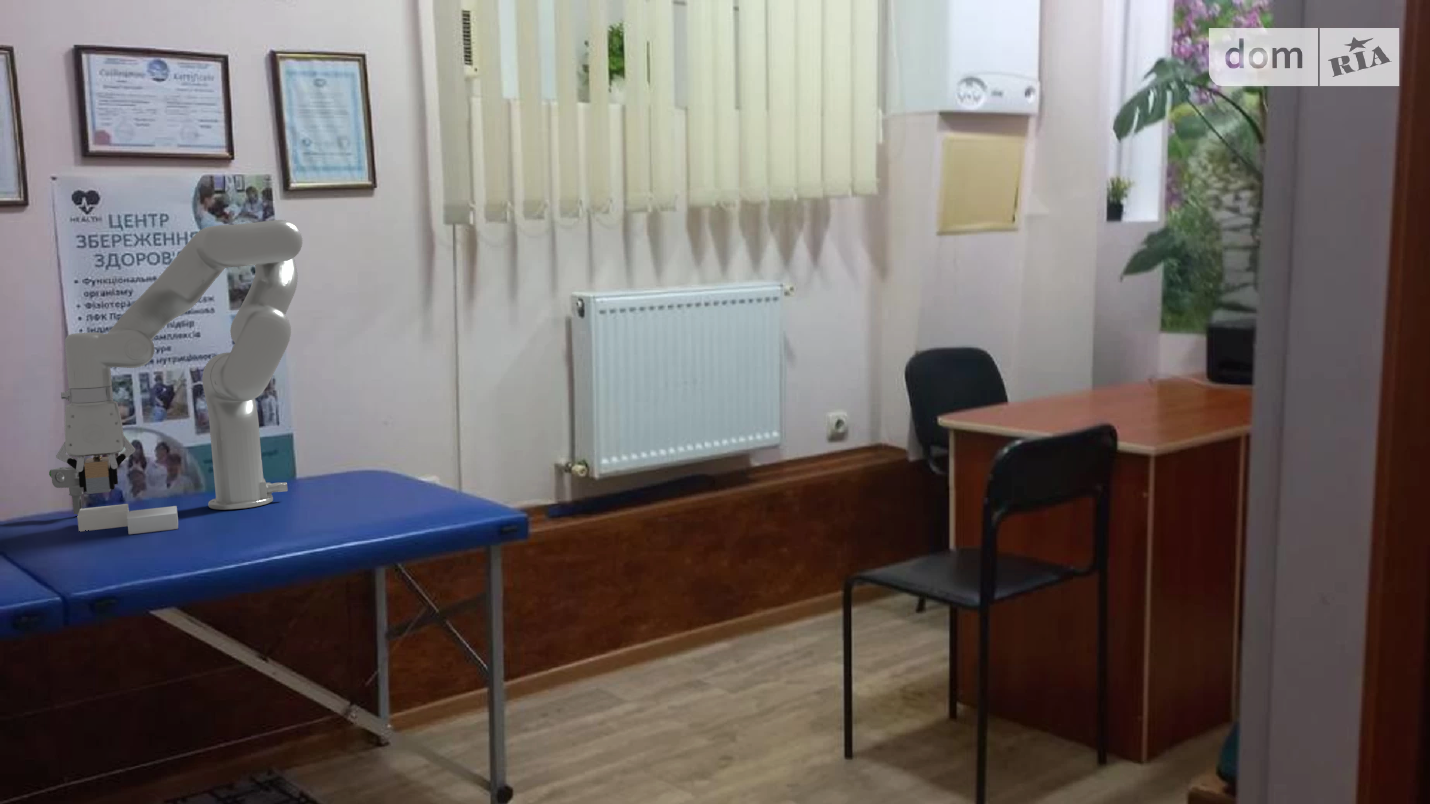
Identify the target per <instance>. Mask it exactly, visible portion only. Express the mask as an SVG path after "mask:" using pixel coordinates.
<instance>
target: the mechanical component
mask: <svg viewBox="0 0 1430 804" xmlns="http://www.w3.org/2000/svg"><path fill="white" fill-rule="evenodd" d="M48 475H49V477H50V478H51V483H52V485H53V486H54V487H55V488H58V489H62V488H64V489H65V488H67V489H69V494H68V496H70V497H71V498H72V499H71V500H72V507H73V515H74V514H77V515H78V513H79V511H80V509H83V506H82V505H83V504H82V495H84V491H83V489H84V488H83V487H81V488H80V485H79V474H78V471H77V470H76V469H74V468H73V467H72V466H67V467H65V466H63V467H55V468H52V469H50V470H49V474H48Z"/></svg>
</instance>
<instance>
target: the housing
mask: <svg viewBox="0 0 1430 804" xmlns="http://www.w3.org/2000/svg"><path fill="white" fill-rule="evenodd" d="M84 466H85V477H86V488H87V492H86V494H87V495H90V494H91V495H92V494H101V493H103V494H104V493H110V492H111V489H110V480H109V468H110V467H109V466H110V462H109V458H108V456H103V455H94V456H92V457H87V458H85V463H84Z"/></svg>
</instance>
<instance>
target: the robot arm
mask: <svg viewBox="0 0 1430 804" xmlns="http://www.w3.org/2000/svg"><path fill="white" fill-rule="evenodd" d="M302 236H303V235H302V233H301V231H300V230H299V229H298V226H296V225H295V224H294V223H292V222H290V221H288V220H285V219H274V220H266V221H257V222H250V223H248V222H247V223H238V224H237V223H236V224H235V223H234V224H220V225H212V226H206V227H204V228H202V229H200V230H198V231H197V232H196V233H195V234H194V235H193V236H192V237H191V239H190V240H189V241H188V242H187V243H186V244H185V245H184V247H183V248H182V249H181V251H180V252H178V254H177V255H176V257H175V258H174V259H173V260H172V262H171V263H170V264H169V266H167V267H166V268H165V269H164V271H163V272H162V273H161V274H160V275H159V276H158V278H156V280H155V281H154V282H153V283H152V284H151V285H149V286H148V287H147V289H146V290H145V291H144V292H143V293H142V295H141V296H139V298H137V299H136V300H135V301H134V303H133V304H131V305H130V306H129V307H128V308H127V310H126V311H125V312H124V313H123V314H122V315H121V317H119V319H118V320H117V321H116V323H115V324H114V325H113V326H112V327H111V328H110V330H109V331H108V332H107V333H103V332H97V331H96V332H79V333H78V332H77V333H71V334H68V335H67V336H66V338H65V339H64V348H65V350H64V351H65V357H66V358H65V359H66V360H65V361H66V371H67V382H68V390H66V391H63V392H60V399H61V400H66V401H69V404H67V405H65V409H64V410H65V411H64V442H63V444H62V446H61V447H60V448H59V451H58V452H57V454H56V455H55V457H56V459H57V460H60V461H62V462H64V463H66V464H68V465H69V467H73V468H74V469H76V470H77V471H78V474H79V485H80V488H81V487H83V488H82V489H83V493H87V488H86V477H85V466H84V463H85V461H86V457H90V456H92V457H93V456H94V455H102V456H103V455H106V456H107V457H108V458H109V462H110V466H109V467H110V468H109V480H110V489H111V490H115V488H116V487H115V486H116V485H119V478H118V467H119V466H120V465H121V464H122V463H123V462H124V461H125V460H126V459H128V458H129V457H130V456H132V455H133V454H134V453H135V452H136V447H134V445H133V444H132V443H131V442H130V441H129V440H128V439H127V438H126V436H125V435H124V429H123V428H124V426H123V422H122V416H121V411H120V408H119V404H118V402H117V401H114V397H113V396H114V395H113V383H112V371H111V368H123V369H124V368H125V369H126V368H127V369H137V368H141V367H143V366H145V365H147V364H149V362H150V361H151V360H152V359H153V357H154V355H155V344H154V341H153V339H155V337H156V336H157V335H158V334H159V333H160V331H162V330H163V329H164V327H165V328H166V326H167V325H168V324H169V323H170V322H172V321H174V320H175V319H176V318H178V317H179V316H183V314H185V313H187V312H188V311H189V310H191V309H192V308H193V307H194V306H195V305H196V304H197V303H198V302H199V300H200V299H201V298H202V297H203V295H204V294H205V293H206V291H208V289H209V288H210V287H211V286H212V284H214V282H215V280H216V279H217V278H218V277H220V275H221V274H222V272H223V271H224V270H225V269H226V268H239V267H240V268H241V267H248V266H249V267H251V266H254V269H255V273H254V277H253V280H252V283H251V286H250V288H249V290H248V291H247V294H246V296H245V298H244V300H243V302H242V304H241V306H240V307H239V309H238V311H237V313H236V314H235V317H234V318H233V320H232V322H231V325H230V330H229V331H230V333H229V334H230V337H231V339H232V341H233V343H234V345H233V347H232V349H231V350H230V352H221V353H219V354H216V355H214V356H213V357H211V359H209V360H208V362H206V364H205V366H204V368H203V371H202V379H201V380H202V388H203V392H204V397H205V402H206V406H207V413H208V422H209V437H210V447H211V456H212V457H211V458H212V459H211V460H212V467H213V468H212V469H213V478H214V479H213V480H214V481H213V482H214V490H215V498H212V499H211V500H209V501H208V507H209V509H211V510H222V511H223V510H224V511H225V510H240V509H248V508H256V507H260V506H263V505H267V504H268V505H269V504H270V503H272V502H273V501H274V497H273V495H272V494H273V493H281V492H283V493H284V492H288V489H289V488H288V483H287V481H286V482H280V481H279V482H274V483H271V482H266V479H265V478H264V473H263V471H264V470H263V461H262V450H261V449H262V447H261V438H260V437H261V436H260V422H259V421H260V420H259V413H258V408H257V402H256V399H257V398H258V397H259V396H261V395H262V394H263V392H264V391H265V390H266V388H267V387H268V386H269V384H270V382H271V379H272V377H273V376H274V374H275V372H276V370H277V368H278V366H279V364H280V362H281V360H282V358H283V356H284V354H285V352H286V350H287V348H288V346H289V342H290V341H291V336H292V335H291V334H292V328H291V327H292V326H291V323H290V320H289V319H288V317H287V316H286V314H287V312H288V309H289V307H290V305H291V303H292V300H293V298H294V295H295V293H296V290H297V286H298V270H297V263H296V262H295V261H296V260H295V258H296V257H297V256H298V255H299V253H300V251H301V249H302V247H303V237H302ZM124 448H125V450H124ZM123 450H124V451H123ZM122 451H123V452H122ZM121 452H122V453H121ZM118 453H120V454H119V455H118V456H117V455H116V454H118ZM74 457H76V458H74ZM111 490H110V491H111Z"/></svg>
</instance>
